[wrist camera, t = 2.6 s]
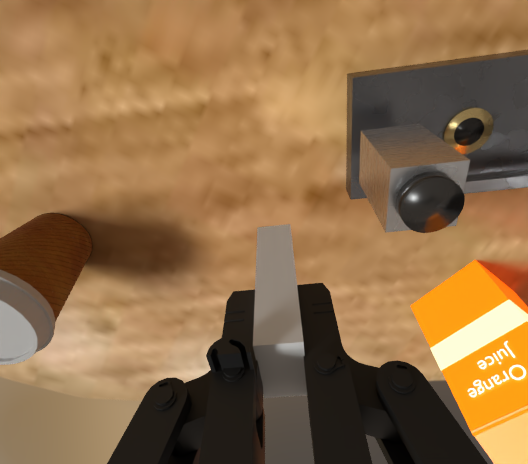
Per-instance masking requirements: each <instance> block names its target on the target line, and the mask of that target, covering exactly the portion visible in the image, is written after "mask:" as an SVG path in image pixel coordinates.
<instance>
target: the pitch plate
mask: <svg viewBox="0 0 528 464" xmlns="http://www.w3.org/2000/svg"><path fill="white" fill-rule="evenodd" d="M412 124H421V125H422V126H423V127H425V128H426V129H428V130H429V131H430V132H432V133H433V134H435V135H436V136H437V137H439V138H440V139H442V140H443V141H444V142H446V143H447V144H449V145H450V146H451V147H453V148H454V149H455V150H457V151H458V152H460V153H461V154H462V155H464V156H465V157H467V158H468V159H469V160H470V164H469V168H468V173H467V177H466V182H465V187H464V191H463V193H464V194H466V193H475V192H485V191H495V190H505V189H515V188H525V187H528V50H523V51H516V52H508V53H501V54H493V55H486V56H478V57H470V58H463V59H455V60H448V61H440V62H433V63H425V64H417V65H410V66H402V67H395V68H387V69H380V70H372V71H365V72H357V73H349V74H347V178H346V190H347V192H348V195H349V197H350V199H360V198H367V197H366V195H365V193H364V191H363V189H362V187H361V185H360V183H359V171H360V138H361V130H370V129H378V128H387V127H395V126H404V125H412ZM367 199H368V198H367ZM368 201H369V200H368Z"/></svg>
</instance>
